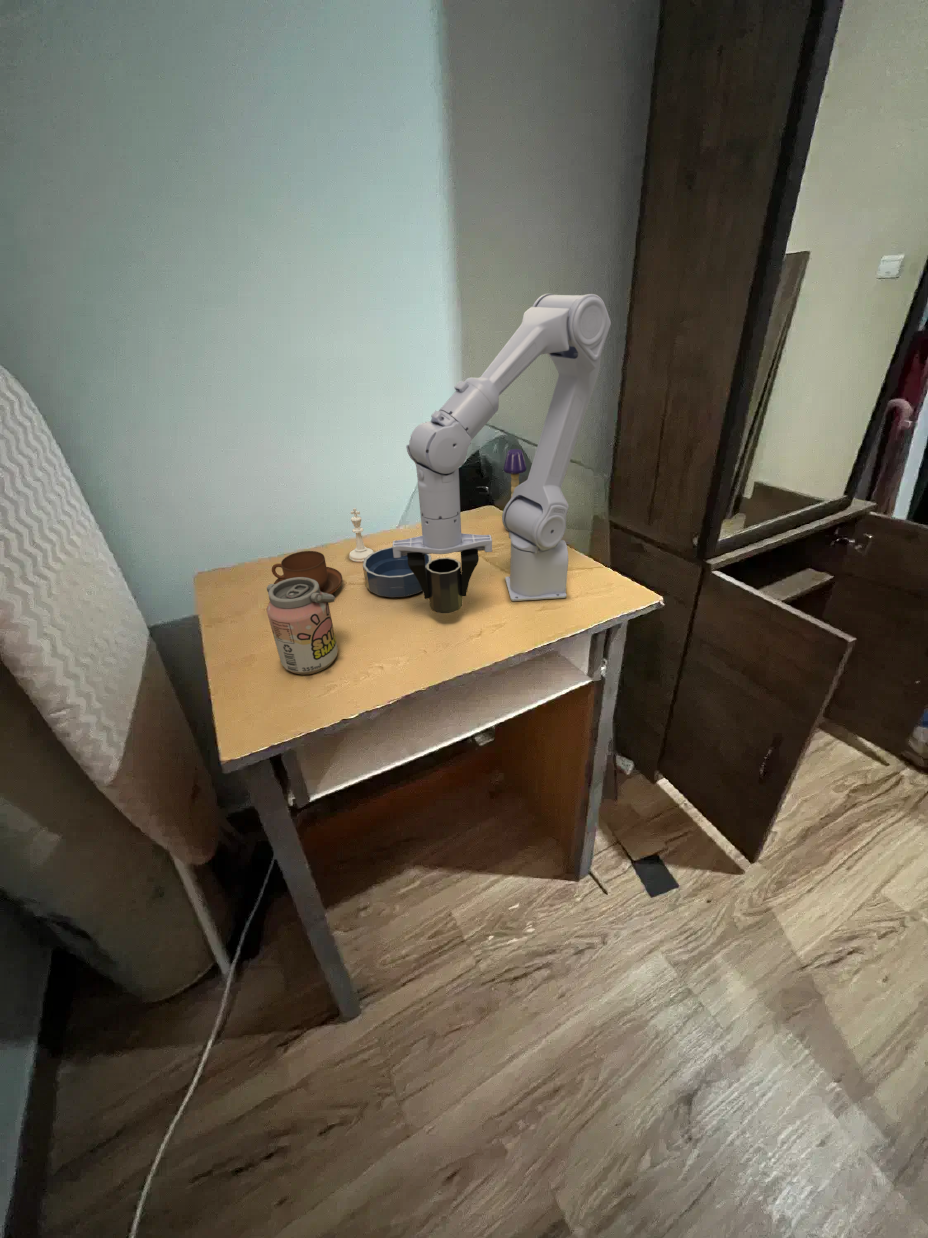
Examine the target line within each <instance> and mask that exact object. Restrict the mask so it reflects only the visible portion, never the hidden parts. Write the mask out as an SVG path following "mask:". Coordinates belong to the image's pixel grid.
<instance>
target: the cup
mask: <svg viewBox="0 0 928 1238" xmlns="http://www.w3.org/2000/svg"><path fill="white" fill-rule="evenodd" d="M426 570H427V582H428V592H429V599H428V603H429V604H428V605H429V608H430V610H431V611H432V612H435V613H437V614H442V615H443V614H445V615H446V614H452V613H456V612H458V611H459V610H460V609H462V607H463V596H462V579H461V561H459V560H457V559H456V558H451V557H437V558H435V559H432V560H431V561H430V562H429V563H428V564H426Z"/></svg>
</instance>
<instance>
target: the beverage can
mask: <svg viewBox="0 0 928 1238" xmlns="http://www.w3.org/2000/svg"><path fill="white" fill-rule="evenodd" d="M266 591H267V592H268V593H267V594H268V598H269V603H268V604H267V606H266V613H267V618H268V621H269V625H270V628H271V632H272V635H273V639H274V642H275V646H276V650H277V653H278V657H279V660H280V664H281V666H282V667H283V668H284V669H285V670H286V671H289V672H290V673H293V674H295V675H301V676H304V675H306V676H307V675H313V674H316V673H320V672H321V671H324V670H326V669H327V668H329V667H330V666H331V665H332V664H333V663H334V661H335V660H336V659H337V656H338V652H339V648H338V644H337V639H336V633H335V629H334V625H333V619H332V615H331V614H332V613H331V608H330V604H329V603H334V602H335V600H336V597H335V595H333V594H327V593H323V592H321V591H320V588H319V584H318V582H317V581H315V580H314V579H310V578H306V577H295V578H290V579H286V580H283V581H280V582H278V583H277V584H274V583H269V584H268V585H267V586H266Z"/></svg>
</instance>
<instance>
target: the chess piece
mask: <svg viewBox="0 0 928 1238" xmlns="http://www.w3.org/2000/svg"><path fill="white" fill-rule="evenodd" d="M350 515H354V516H352V517H351V518H350V522H351V523H352V525H353V528H352V532H353V533H355V548H354V549H353V550H350V552H349V553H348V554H349V556H348V557H349V560H350V561H352V562H355V563H356V562H358V563H360V562H361V563H363V562H364V559H365V558H367V557H368V556H369V555H370V554H372V553H374V552H375V551H374V550H373V549H372V548H370V547H366V546H365V543H364V540H363V535H362V532H364V528H363V527H361V524H362V517H361V516H358V515H361V512H360V511H358V510H357V508H356V507H354V508H353V509H352V510H351V511H350Z"/></svg>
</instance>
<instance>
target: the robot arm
mask: <svg viewBox="0 0 928 1238" xmlns="http://www.w3.org/2000/svg"><path fill="white" fill-rule="evenodd" d="M611 325H612V322H611V318H610V315H609V312H608V309H607V307H606V304H605V302H604V300H603V298H601V296H599V295H597V294H595V293H588V294H554V293H543V294H542V295H541V296H539V297H538V298H537V299H535V301H534V303H533V304H532V306H530V307H529V308H527V310H525V312H523V316H522V320H521V323H520V325H519V327H518V328H516V330H515V332H514V333H513V334H512V336H511V337H510V338H509V339H508V340H507V342H506V343H505V345H504V346H503V347H502V348H501V349H500V351H499V352H498V354H497V355H496V356H495V357H494V359H493V360H492V361H491V362H490V364H489V365H488V366H487V368H486V369H485V371H483V373H482V374H481V375H480V376H479V377H474V376H473V377H471V376H470V377H467V378H466V379H465V380H464V381H463V380H458V382H457V383H456V384H455V386H454V390H455V391H454V392H453V394H452V395H450V397H449V398H448V399H447V401H445V403H444V404H443V405H442V406H441V407H440V408H439V409H438V410H434V412H433V413H432V414H431V415H430V418H431V419H430V421H428V420H427V421H425V422H421V423H420V424H418V425H417V426H415V428H414V429H413V430H412V432H411V434H410V438H409V442H408V444H406V446H405V447H406V448H405V449H406V452H407V454H408V457H409V458H410V459H411V460H412V461H413V462H414V464H415V467H416V469H415V470H416V477H417V490H418V491H417V493H418V502H419V515H420V525H421V535H418V536H414V537H409V538H405V539H398V540H396V539H395V540H392V546H391V547H393V555H394V558H400V557H401V556H402V555H407V557H408V566H409V568H410V569H411V571H412V572H413V573H414V575H415V576H416V578H417V580H418V582H419V584H420V586H421V588H422V591H421V592H422V593H423V598H424V599H425V600H429V592H428V582H427V575H426V565H425V554H430V555H432V554H433V555H448V554H452V553H460V563H461V579H462V597H467V594H468V588H469V584H470V580H471V578H472V575H473V573H474V571H475V569H476V568H477V565H478V563H479V560H480V556H479V552H481V551H483V552H484V553H493V539H492V538H493V537H492V535H491V534H475V533H462V522H461V521H462V517H461V495H460V471H459V468H460V467H461V466H464V464H465V461H466V459H467V455H468V449H469V446H471V444H472V443H471V442H472V440H473V439H474V438H476V436H477V435H478V434H479V433H480V432H481V430H482V429H483V428H484V427H485V426H486V425H487V423H488V422H489V421H490V420H492V418H493V417H494V415H495V414H497V412H498V411H499V409H500V408H499V407H500V406H499V404H500V403H499V402H500V400H499V399H500V398H499V397H500V395H501V394H502V393H503V392H504V391H506V390H507V389H508V388H509V386H511V385H512V384H513V383H514V382H515V380H517V378H519V377H520V376H521V375H522V374H523V373H524V371H525V370H527V368H529V367H530V366H531V364H533V363H534V362H535V361H536V360H537V358H539V357H540V356H541V355H547V356H548V358H549V359H550V360H551V361H552V362H553V364H554V366H555V369H556V372H557V374H558V376H557V380H556V384H555V386H554V390H553V394H552V397H551V400H550V404H549V405H548V406H549V407H548V410H547V413H546V416H545V420H544V423H543V427H542V430H541V433H540V437H539V440H538V443H537V446H536V450H535V453H534V456H533V460H532V462H531V467H530V470H529V473H528V476H527V479H526V480H524V481H523V482H521V483H519V485H518V486H517V487H515V489H514V492H513V495H512V497H511V496H510V499H509V501H508V502H507V503H506V504H505V507H504V508H503V511H502V515H501V521H502V525H503V528H504V529H505V530H506V529H507V530H508V531H507V530H506V531H507V532H508V538H509V539H510V564H509V565H510V567H509V569H510V570H509V576H505V577H504V581H505V585H506V588H507V592H508V595H509V599H510V601H511V602H520V601H521V602H522V601H537V600H552V599H553V600H554V599H565V598H567V582H568V571H569V570H568V569H569V550H568V545H567V542H566V541H565V539H563V538H564V536H565V533H566V531H567V515H568V512H569V508H570V506H569V503H568V501H567V499H566V497H565V495H564V493H563V491H562V487H563V484H564V481H565V477H566V474H567V472H568V469H569V466H570V462H571V459H572V457H573V453H574V450H575V447H576V445H577V441H578V438H579V434H580V432H581V429H582V426H583V423H584V420H585V416H586V414H587V411H588V407H589V404H590V402H591V398H592V395H593V392H594V389H595V387H596V386H595V385H596V383H597V380H598V377H599V374H600V370H601V363H602V362H601V361H602V352H603V350H604V347H605V344H606V341H607V338H608V335H609V331H610V328H611Z"/></svg>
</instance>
